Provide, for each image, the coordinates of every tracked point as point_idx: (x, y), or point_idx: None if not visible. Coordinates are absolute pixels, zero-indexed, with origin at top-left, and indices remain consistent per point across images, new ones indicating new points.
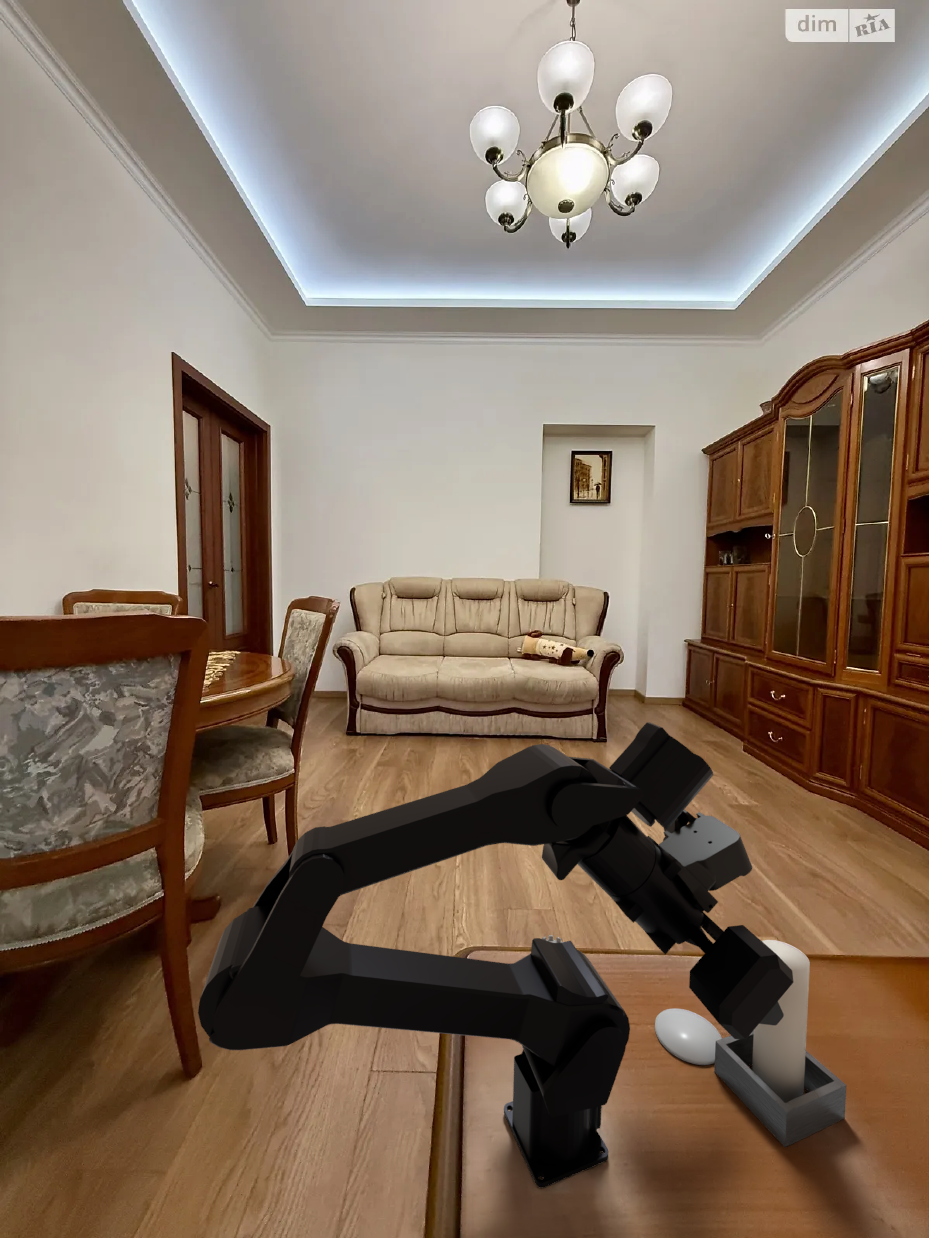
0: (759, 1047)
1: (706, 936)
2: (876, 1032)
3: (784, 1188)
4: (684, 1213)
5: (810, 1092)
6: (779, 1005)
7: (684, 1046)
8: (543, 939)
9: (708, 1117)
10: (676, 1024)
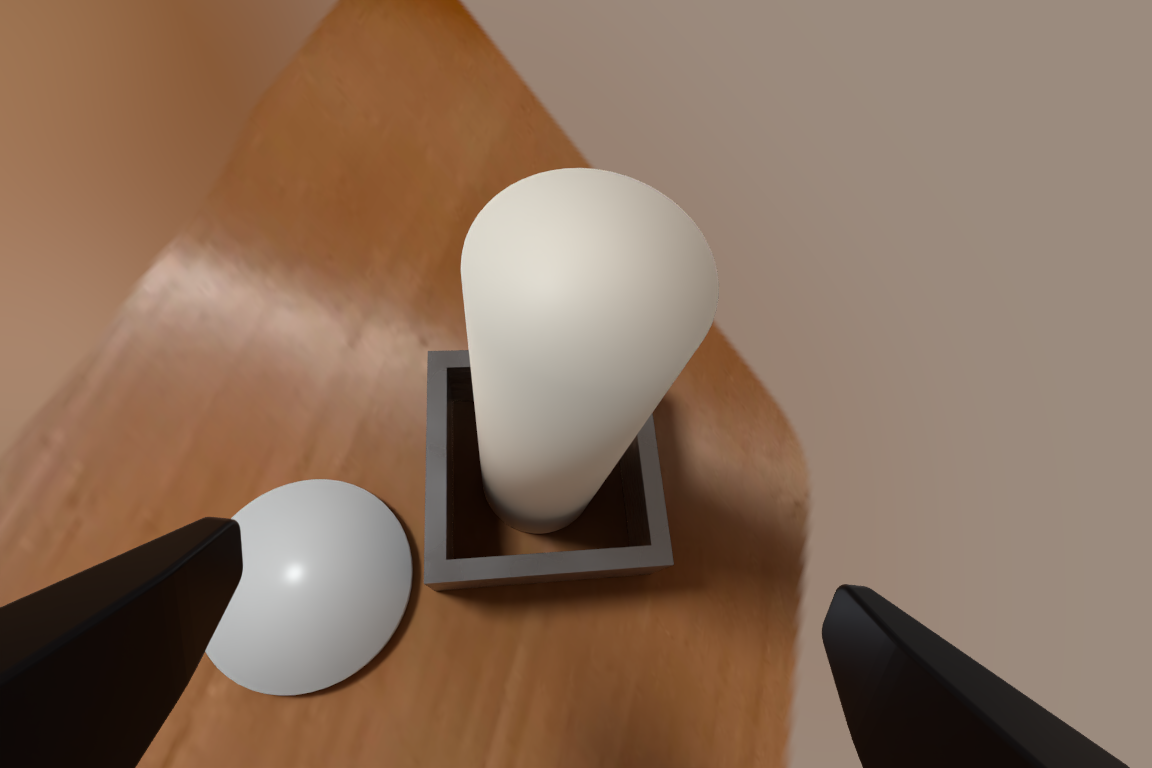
0: (541, 506)
1: (219, 536)
2: (486, 133)
3: (722, 657)
4: None
5: (639, 449)
6: (963, 654)
7: (340, 631)
8: None
9: (539, 719)
10: (260, 595)
